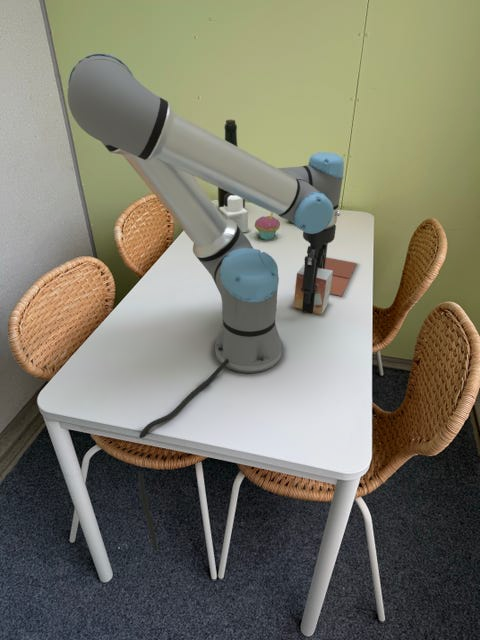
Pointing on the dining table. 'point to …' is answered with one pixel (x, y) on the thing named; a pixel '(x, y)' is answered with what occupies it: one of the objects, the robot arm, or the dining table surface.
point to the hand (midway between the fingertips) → (310, 305)
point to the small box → (320, 289)
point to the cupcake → (267, 226)
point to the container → (235, 211)
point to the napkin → (339, 274)
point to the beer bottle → (232, 138)
